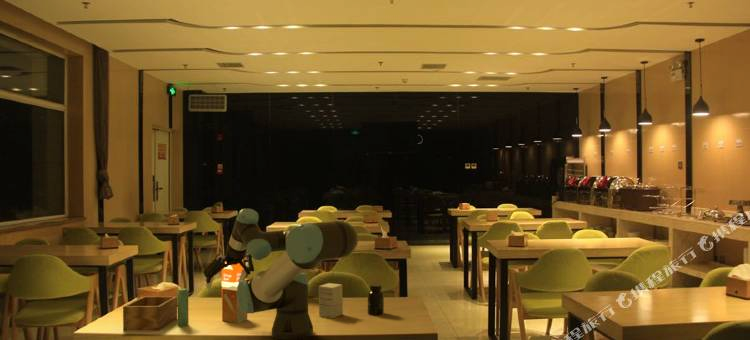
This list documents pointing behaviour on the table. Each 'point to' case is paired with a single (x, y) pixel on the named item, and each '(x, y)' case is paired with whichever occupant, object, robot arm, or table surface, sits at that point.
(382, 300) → the supplement bottle
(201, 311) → the table surface
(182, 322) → the peg
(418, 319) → the table surface
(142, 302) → the crate
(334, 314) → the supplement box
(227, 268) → the orange juice
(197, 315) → the table surface
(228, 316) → the small box
